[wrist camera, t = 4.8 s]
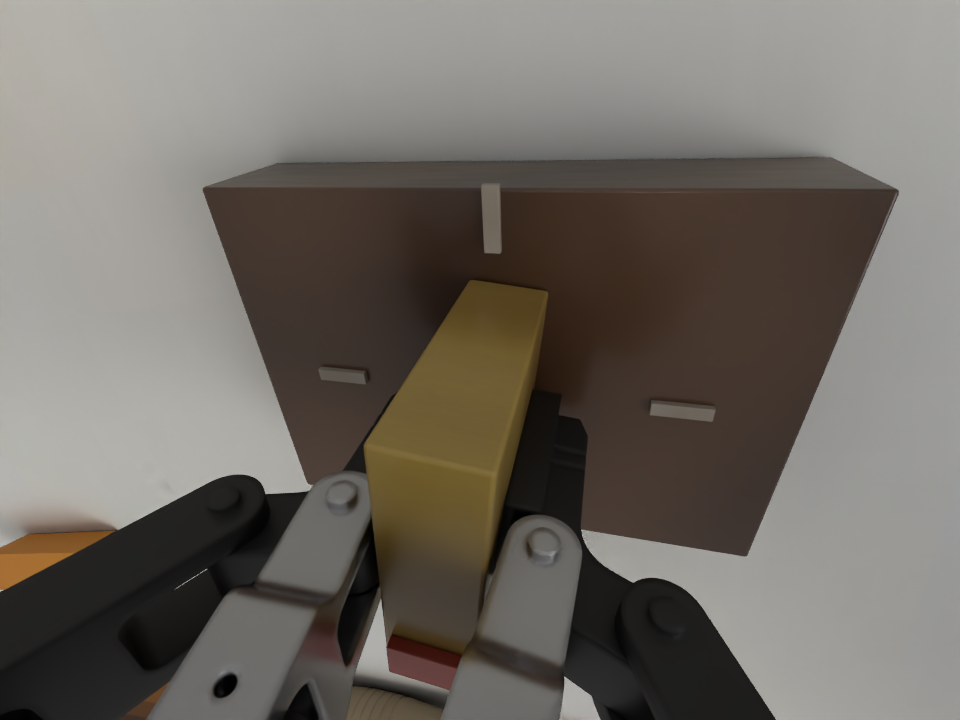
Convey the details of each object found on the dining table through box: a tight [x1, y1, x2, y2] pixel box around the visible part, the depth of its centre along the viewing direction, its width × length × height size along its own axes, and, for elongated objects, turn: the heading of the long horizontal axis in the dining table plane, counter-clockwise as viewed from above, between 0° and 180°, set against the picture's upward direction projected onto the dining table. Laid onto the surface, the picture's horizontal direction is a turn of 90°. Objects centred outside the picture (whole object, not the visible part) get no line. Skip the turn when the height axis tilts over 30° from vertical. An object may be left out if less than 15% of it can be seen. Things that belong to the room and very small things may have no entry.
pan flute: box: [0, 530, 174, 720], centre depth 37 cm, size 25×3×25 cm
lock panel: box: [203, 158, 899, 556], centre depth 13 cm, size 14×10×3 cm
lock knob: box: [364, 280, 548, 690], centre depth 10 cm, size 6×2×6 cm, turn 177°
